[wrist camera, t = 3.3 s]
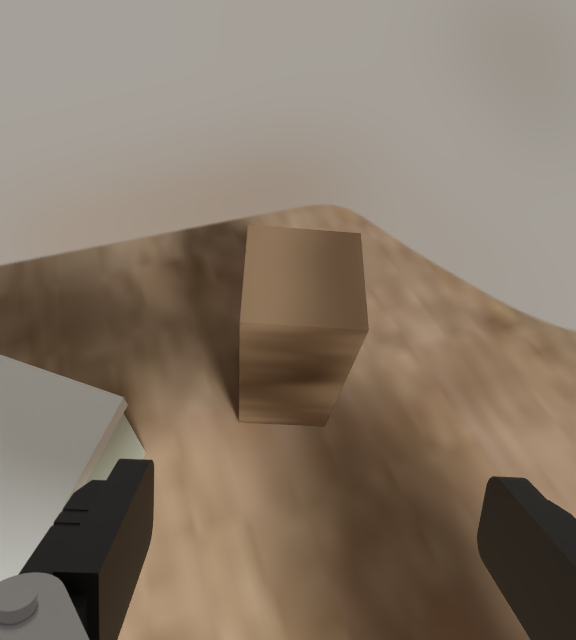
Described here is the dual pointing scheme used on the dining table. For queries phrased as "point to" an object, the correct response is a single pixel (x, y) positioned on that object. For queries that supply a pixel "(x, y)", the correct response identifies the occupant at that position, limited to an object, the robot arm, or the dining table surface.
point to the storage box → (51, 451)
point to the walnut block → (299, 323)
